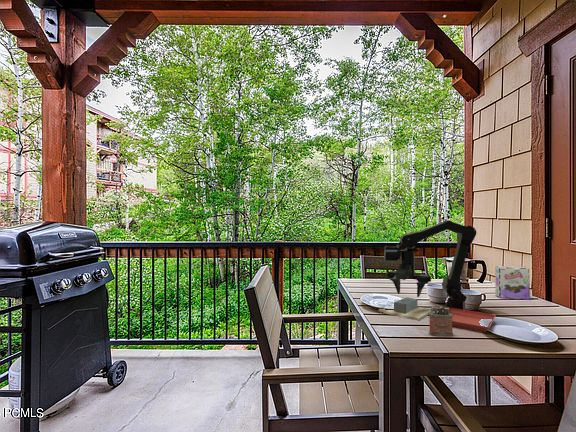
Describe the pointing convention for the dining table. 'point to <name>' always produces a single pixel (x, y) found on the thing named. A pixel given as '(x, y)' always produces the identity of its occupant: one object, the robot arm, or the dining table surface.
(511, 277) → the candy box
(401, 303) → the slate block
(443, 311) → the reddish brown box
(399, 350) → the dining table surface
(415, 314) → the birch board
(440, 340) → the dining table surface
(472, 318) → the red flat slab
